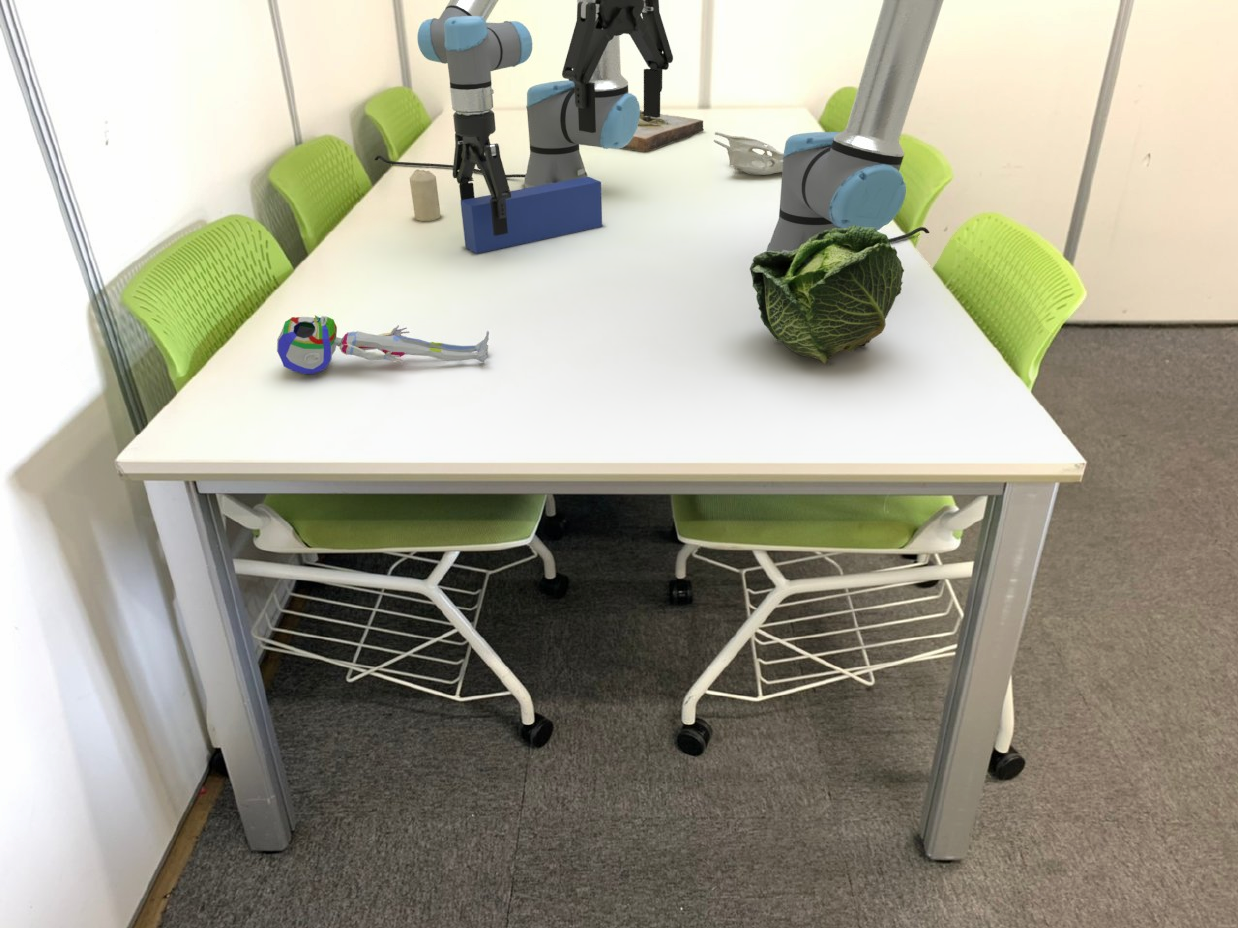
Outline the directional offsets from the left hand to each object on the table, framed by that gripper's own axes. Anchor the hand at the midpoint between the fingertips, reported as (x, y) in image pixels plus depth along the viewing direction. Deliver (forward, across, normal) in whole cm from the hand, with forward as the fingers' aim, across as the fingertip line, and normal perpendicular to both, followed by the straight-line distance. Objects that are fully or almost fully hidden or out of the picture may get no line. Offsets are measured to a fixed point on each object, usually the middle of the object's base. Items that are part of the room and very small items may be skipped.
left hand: (484, 225), depth 176 cm
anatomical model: (+5, +10, -81) cm, 82 cm away
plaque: (+5, +63, -79) cm, 101 cm away
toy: (+4, -40, +36) cm, 54 cm away
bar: (+4, 0, -11) cm, 12 cm away
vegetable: (+4, -73, -20) cm, 76 cm away
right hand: (-26, -44, -3) cm, 51 cm away
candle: (+4, +25, +2) cm, 25 cm away
